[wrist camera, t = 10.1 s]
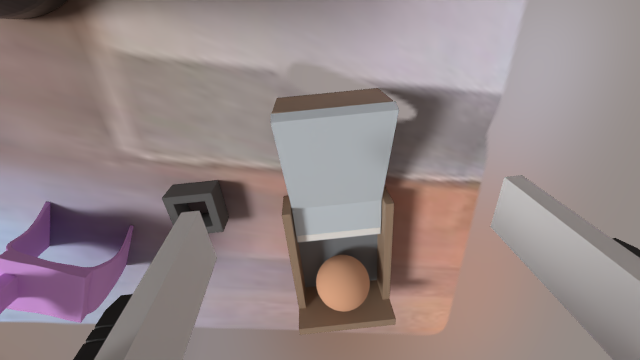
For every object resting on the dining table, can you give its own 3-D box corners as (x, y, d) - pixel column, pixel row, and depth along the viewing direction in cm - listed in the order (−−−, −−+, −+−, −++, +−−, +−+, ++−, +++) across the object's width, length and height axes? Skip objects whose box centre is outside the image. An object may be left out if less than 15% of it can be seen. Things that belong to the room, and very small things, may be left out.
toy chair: (129, 271, 34) (20, 428, 21) (45, 251, 32) (-136, 411, 19) (140, 219, 30) (16, 367, 17) (46, 193, 28) (-176, 338, 15)
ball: (315, 265, 36) (320, 317, 33) (312, 250, 31) (317, 310, 28) (362, 260, 36) (371, 311, 33) (366, 244, 31) (378, 304, 28)
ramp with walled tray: (266, 98, 25) (256, 118, 19) (387, 86, 25) (412, 103, 20) (300, 290, 37) (300, 337, 31) (382, 282, 37) (396, 327, 32)
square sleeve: (172, 184, 29) (161, 198, 26) (217, 180, 29) (211, 193, 26) (186, 221, 31) (177, 236, 29) (228, 217, 31) (223, 231, 29)
